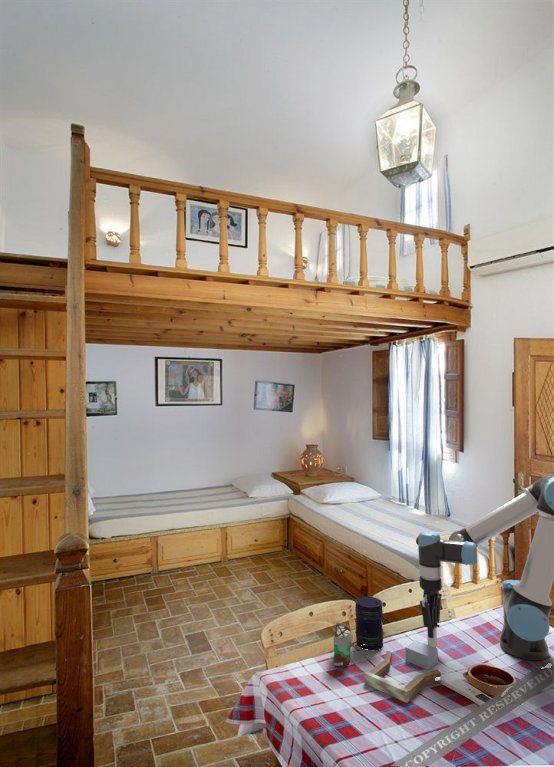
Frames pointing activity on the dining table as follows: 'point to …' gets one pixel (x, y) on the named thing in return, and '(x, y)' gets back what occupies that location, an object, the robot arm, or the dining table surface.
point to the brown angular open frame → (393, 689)
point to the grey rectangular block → (421, 654)
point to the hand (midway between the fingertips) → (432, 646)
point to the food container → (342, 645)
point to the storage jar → (369, 623)
